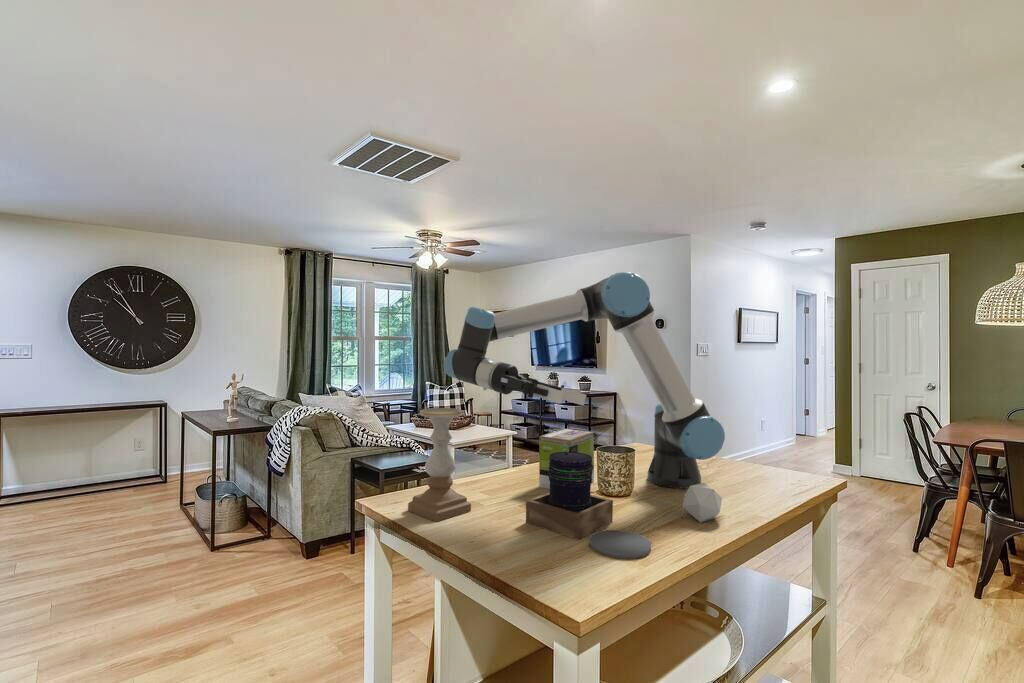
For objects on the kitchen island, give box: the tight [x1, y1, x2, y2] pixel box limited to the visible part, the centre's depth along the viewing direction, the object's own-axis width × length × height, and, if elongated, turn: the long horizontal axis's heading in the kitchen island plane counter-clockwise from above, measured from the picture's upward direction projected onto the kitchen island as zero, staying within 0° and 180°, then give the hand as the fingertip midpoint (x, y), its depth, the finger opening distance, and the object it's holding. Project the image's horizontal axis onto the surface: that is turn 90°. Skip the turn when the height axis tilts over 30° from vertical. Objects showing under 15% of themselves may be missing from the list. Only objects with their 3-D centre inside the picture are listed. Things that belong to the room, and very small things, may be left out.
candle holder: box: [407, 407, 472, 523], centre depth 122 cm, size 11×11×24 cm
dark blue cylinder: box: [548, 452, 593, 513], centre depth 116 cm, size 10×10×15 cm
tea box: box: [538, 428, 595, 490], centre depth 147 cm, size 15×10×15 cm
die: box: [682, 482, 723, 523], centre depth 121 cm, size 8×9×10 cm
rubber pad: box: [589, 529, 652, 560], centre depth 103 cm, size 12×12×1 cm
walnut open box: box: [525, 491, 614, 540], centre depth 116 cm, size 14×14×5 cm
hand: (574, 399), depth 118 cm, fingers open, 13 cm apart
